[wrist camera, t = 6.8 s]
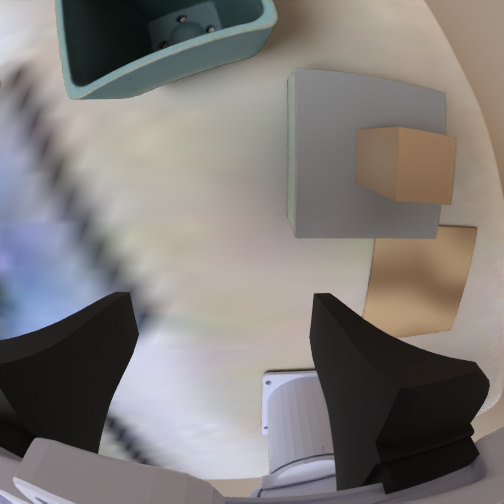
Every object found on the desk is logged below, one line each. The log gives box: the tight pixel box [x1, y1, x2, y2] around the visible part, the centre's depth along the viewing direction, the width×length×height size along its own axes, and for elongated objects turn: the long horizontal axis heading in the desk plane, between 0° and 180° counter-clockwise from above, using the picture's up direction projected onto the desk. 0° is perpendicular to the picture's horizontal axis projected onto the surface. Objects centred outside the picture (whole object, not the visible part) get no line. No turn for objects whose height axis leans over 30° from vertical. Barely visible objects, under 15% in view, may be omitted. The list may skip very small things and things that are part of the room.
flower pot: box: [55, 0, 278, 100], centre depth 12 cm, size 9×9×9 cm
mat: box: [362, 226, 477, 338], centre depth 22 cm, size 10×10×1 cm
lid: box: [293, 68, 456, 239], centre depth 12 cm, size 9×9×6 cm
